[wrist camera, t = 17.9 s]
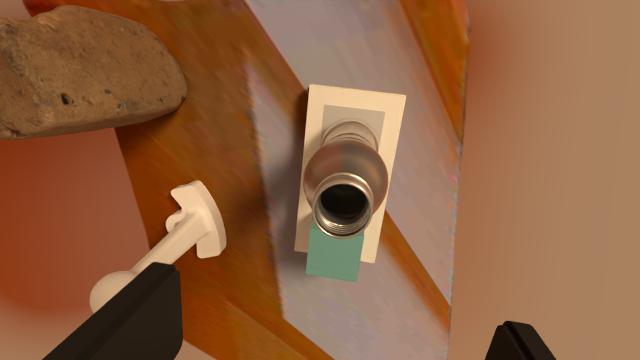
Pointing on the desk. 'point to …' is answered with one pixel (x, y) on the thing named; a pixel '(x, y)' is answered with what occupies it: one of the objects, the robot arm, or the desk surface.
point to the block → (82, 74)
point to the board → (325, 111)
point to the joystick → (173, 239)
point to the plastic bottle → (346, 179)
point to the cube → (333, 255)
